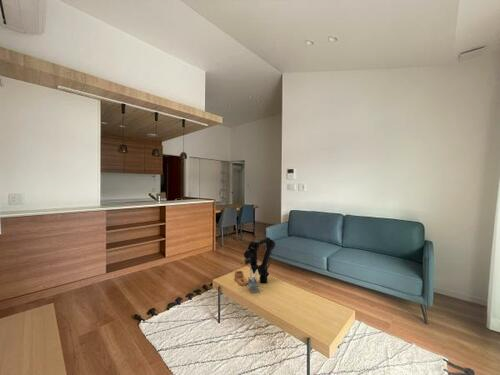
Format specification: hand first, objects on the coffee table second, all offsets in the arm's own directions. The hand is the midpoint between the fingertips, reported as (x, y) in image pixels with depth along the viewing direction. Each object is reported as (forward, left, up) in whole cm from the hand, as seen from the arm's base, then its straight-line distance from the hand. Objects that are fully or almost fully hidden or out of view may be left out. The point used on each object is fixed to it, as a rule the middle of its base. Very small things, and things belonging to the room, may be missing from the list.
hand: (253, 272), depth 186 cm
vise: (0, -4, -13) cm, 14 cm away
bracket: (+10, -11, -14) cm, 20 cm away
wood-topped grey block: (0, 0, -5) cm, 5 cm away
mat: (0, +7, -13) cm, 15 cm away
